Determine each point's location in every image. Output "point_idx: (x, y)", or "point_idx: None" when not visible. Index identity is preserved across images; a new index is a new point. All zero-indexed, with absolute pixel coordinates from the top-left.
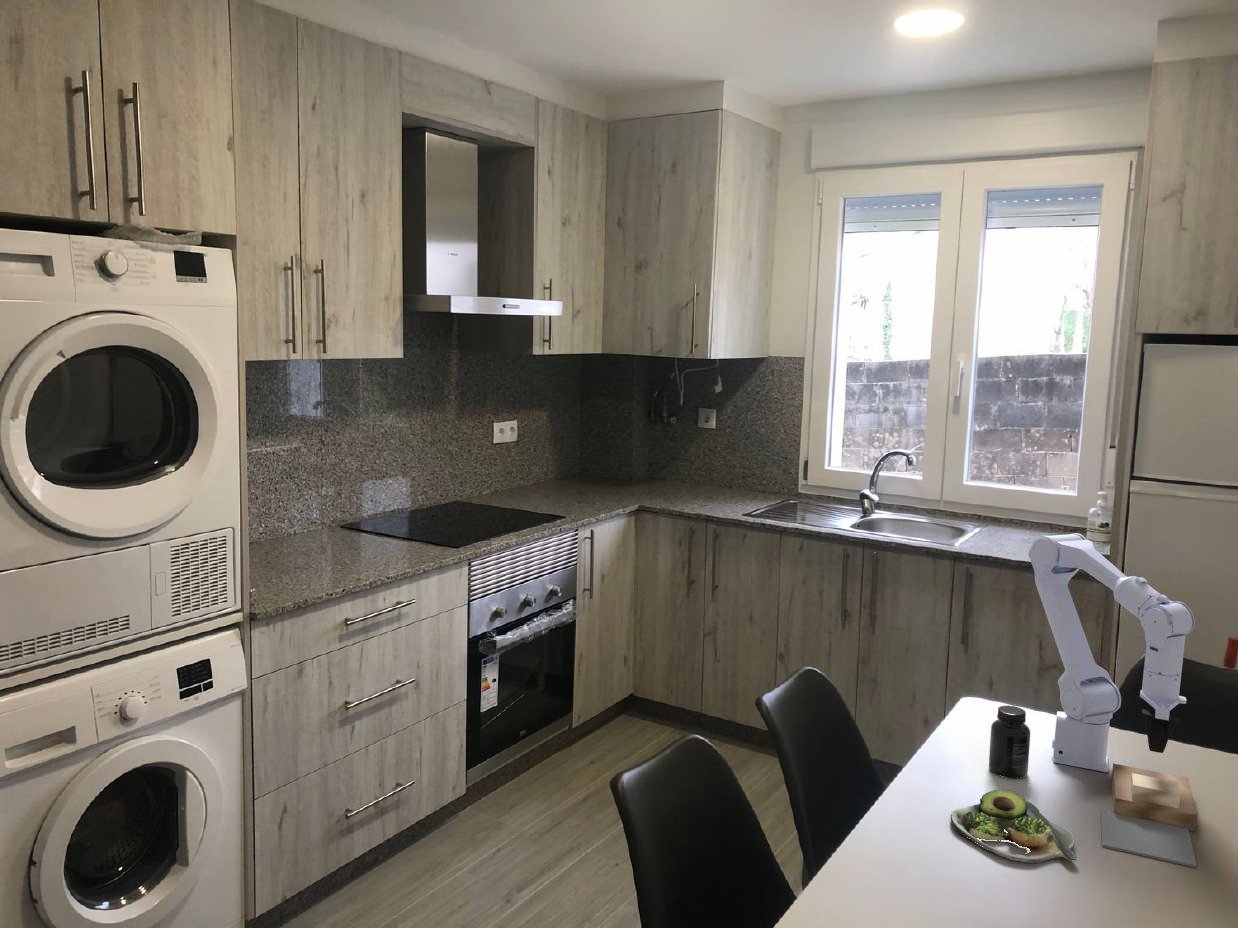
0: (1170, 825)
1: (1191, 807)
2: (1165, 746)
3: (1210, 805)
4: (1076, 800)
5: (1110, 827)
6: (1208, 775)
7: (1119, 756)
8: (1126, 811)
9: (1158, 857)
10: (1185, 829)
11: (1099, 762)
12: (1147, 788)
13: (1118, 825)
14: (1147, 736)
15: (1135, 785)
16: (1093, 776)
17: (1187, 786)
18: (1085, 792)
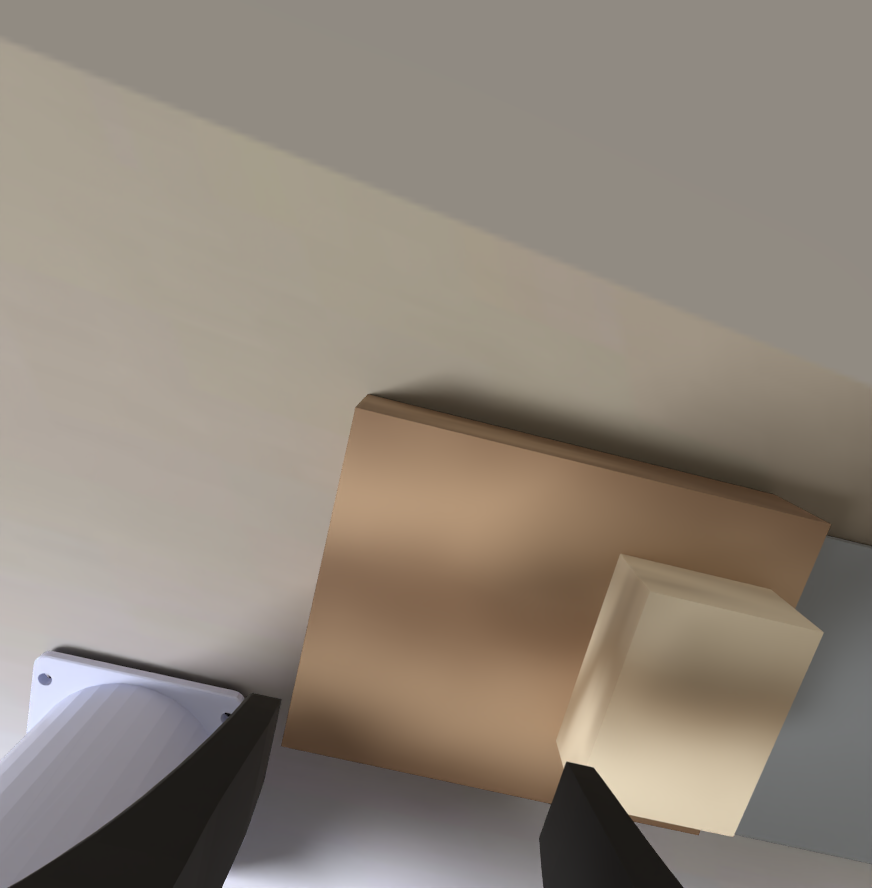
0: None
1: (750, 523)
2: (625, 811)
3: (479, 319)
4: None
5: (803, 819)
6: (81, 182)
7: (8, 584)
8: None
9: None
10: None
11: (194, 738)
12: (757, 774)
13: (783, 788)
14: (263, 780)
15: (735, 826)
16: (301, 754)
17: (483, 454)
18: (478, 820)
